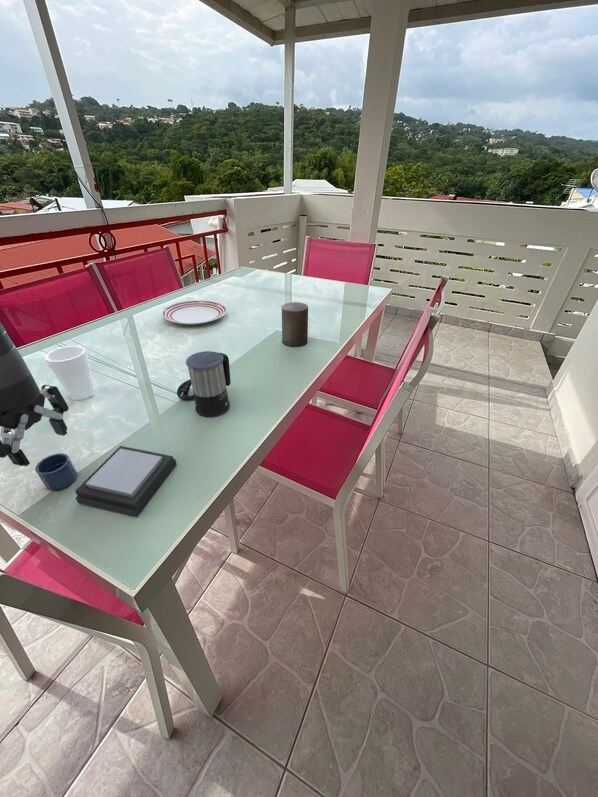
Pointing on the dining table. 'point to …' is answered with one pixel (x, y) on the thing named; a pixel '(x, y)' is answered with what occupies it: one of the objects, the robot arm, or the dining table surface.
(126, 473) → the pan
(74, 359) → the foam cup
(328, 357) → the dining table surface
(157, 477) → the scale
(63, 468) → the blue cup
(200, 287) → the dining table surface
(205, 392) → the milk frother
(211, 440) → the dining table surface
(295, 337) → the pillar candle
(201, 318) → the dinner plate
